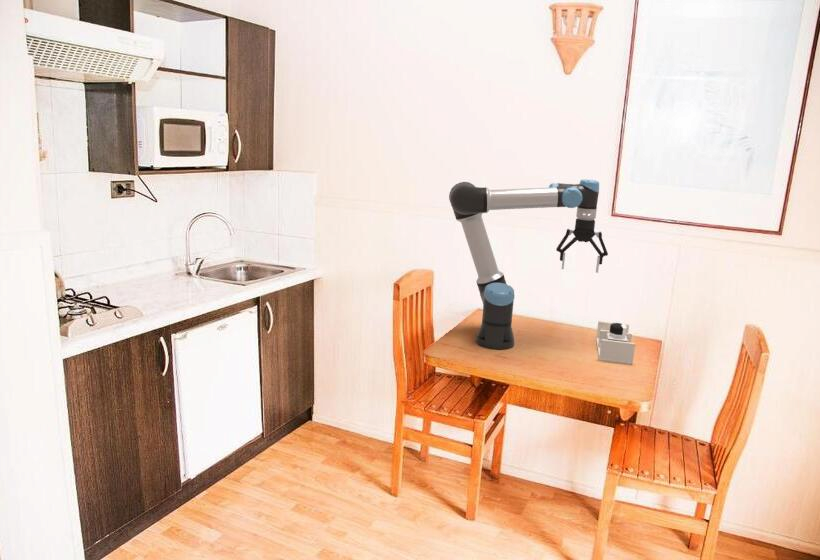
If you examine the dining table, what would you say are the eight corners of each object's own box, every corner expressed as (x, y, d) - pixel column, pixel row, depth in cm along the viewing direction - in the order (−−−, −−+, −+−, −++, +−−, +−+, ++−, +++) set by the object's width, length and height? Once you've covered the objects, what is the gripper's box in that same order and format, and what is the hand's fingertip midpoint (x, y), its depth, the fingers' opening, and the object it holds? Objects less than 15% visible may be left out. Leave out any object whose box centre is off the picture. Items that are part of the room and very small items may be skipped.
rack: (599, 360, 236) (601, 340, 234) (596, 339, 259) (598, 321, 257) (632, 364, 233) (635, 344, 231) (626, 342, 257) (628, 324, 255)
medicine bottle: (605, 355, 238) (609, 326, 235) (604, 349, 244) (608, 320, 242) (625, 358, 236) (629, 328, 233) (623, 351, 243) (627, 322, 240)
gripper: (553, 217, 248) (548, 269, 253) (618, 222, 243) (612, 275, 248) (554, 215, 255) (548, 265, 260) (617, 220, 250) (610, 271, 255)
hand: (579, 270), depth 254 cm, fingers open, 13 cm apart
